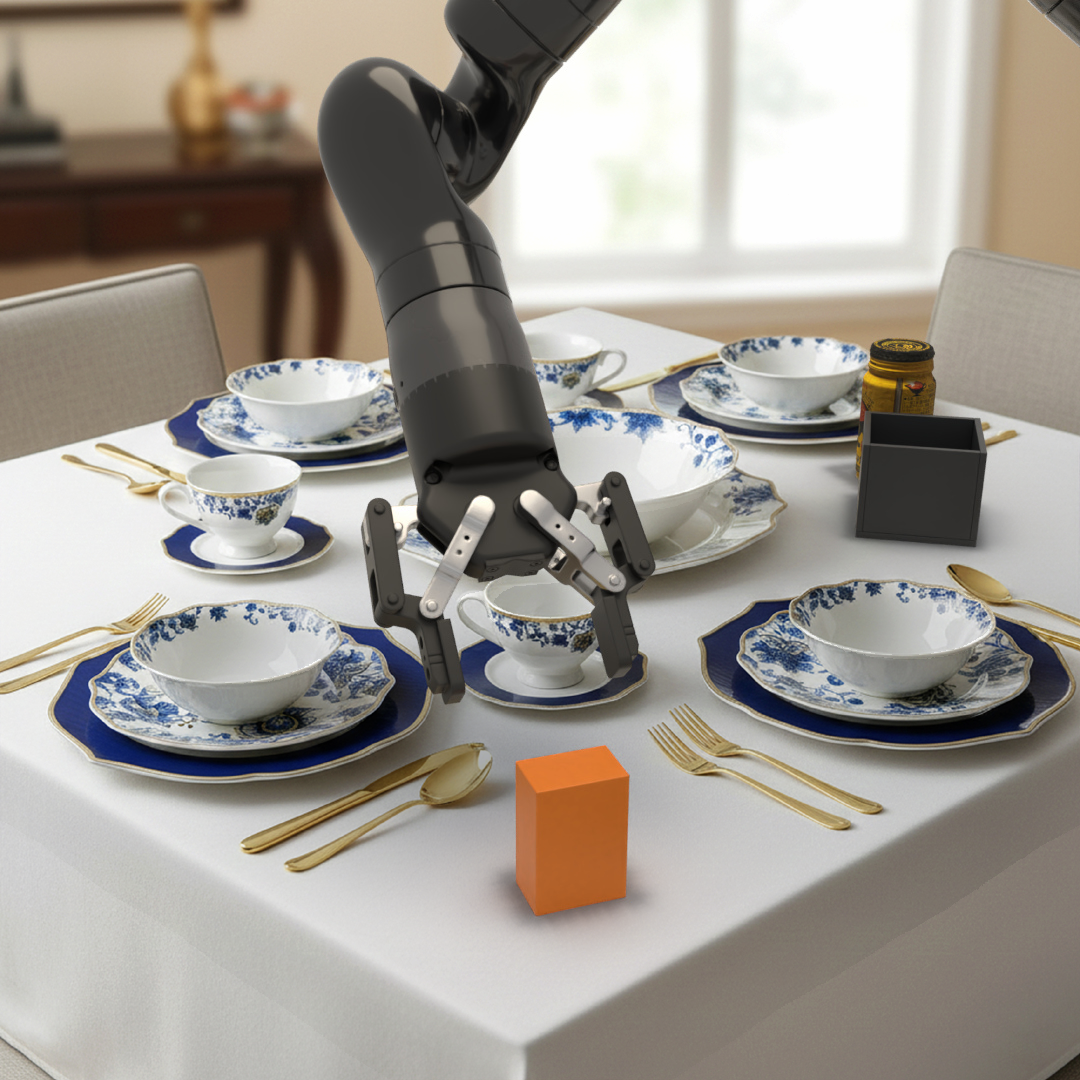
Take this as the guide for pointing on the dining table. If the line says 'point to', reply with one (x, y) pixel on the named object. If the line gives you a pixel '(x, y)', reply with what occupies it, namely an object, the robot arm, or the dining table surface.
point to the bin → (921, 478)
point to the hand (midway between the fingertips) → (540, 685)
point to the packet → (571, 829)
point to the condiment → (897, 381)
